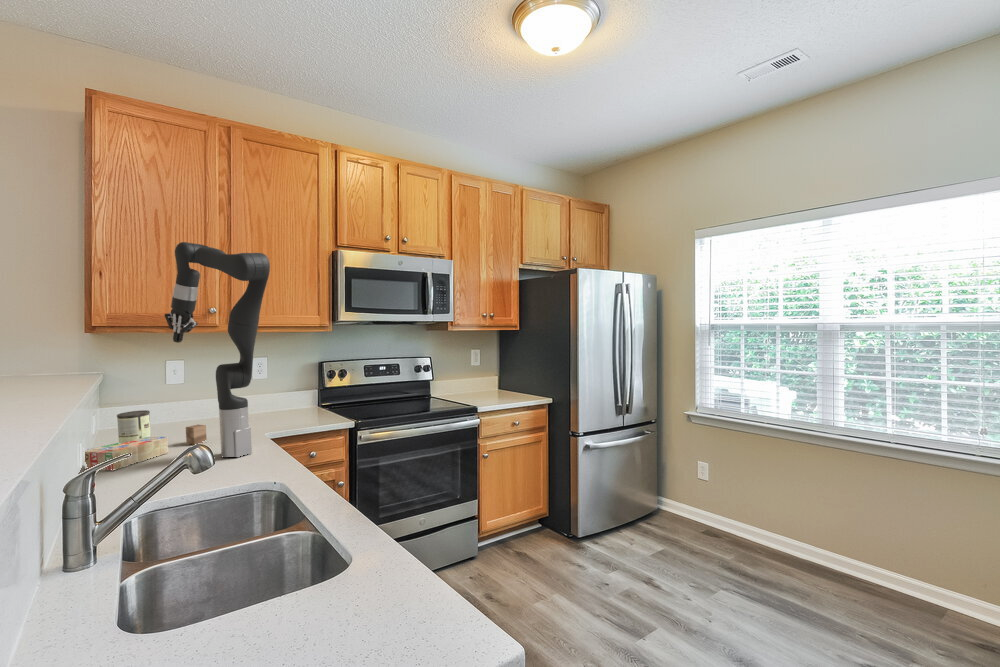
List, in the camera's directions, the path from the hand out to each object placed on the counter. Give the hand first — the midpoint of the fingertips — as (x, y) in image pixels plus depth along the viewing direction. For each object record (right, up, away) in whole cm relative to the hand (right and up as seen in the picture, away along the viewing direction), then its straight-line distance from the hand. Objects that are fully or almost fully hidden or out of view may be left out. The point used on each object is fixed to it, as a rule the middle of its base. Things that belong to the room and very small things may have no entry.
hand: (177, 341), depth 183 cm
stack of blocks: (-6, -39, -10) cm, 40 cm away
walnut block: (-2, -41, +15) cm, 44 cm away
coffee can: (-23, -42, +10) cm, 49 cm away
